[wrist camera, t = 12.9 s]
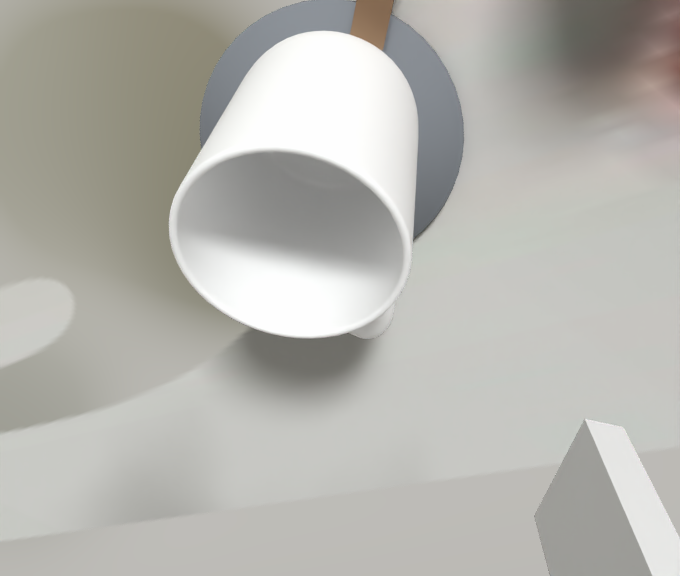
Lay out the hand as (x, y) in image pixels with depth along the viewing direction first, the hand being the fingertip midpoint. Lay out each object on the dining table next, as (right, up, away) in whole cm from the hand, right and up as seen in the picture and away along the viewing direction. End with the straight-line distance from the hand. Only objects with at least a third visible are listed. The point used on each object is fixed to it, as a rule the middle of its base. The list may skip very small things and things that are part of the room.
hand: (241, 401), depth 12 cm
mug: (+2, +9, +17) cm, 19 cm away
